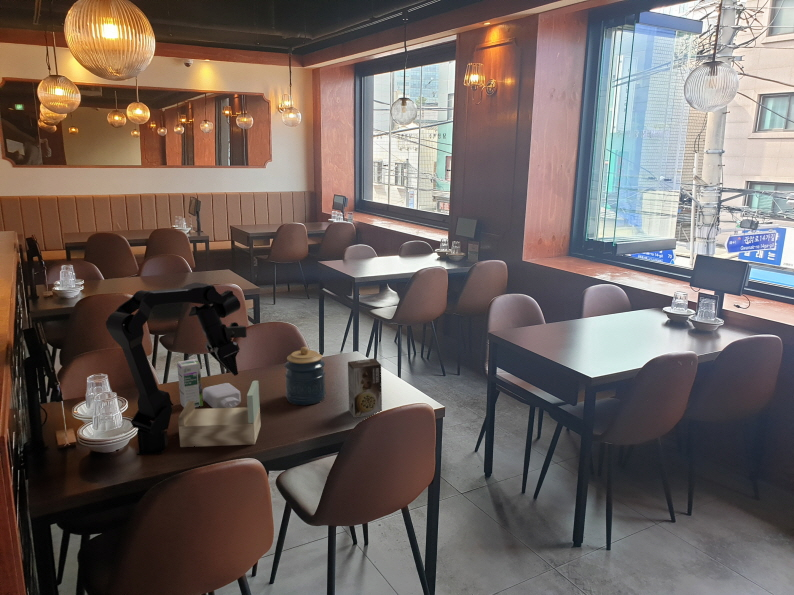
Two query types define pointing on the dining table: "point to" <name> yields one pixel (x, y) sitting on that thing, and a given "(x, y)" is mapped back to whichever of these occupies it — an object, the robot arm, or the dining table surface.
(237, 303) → the robot arm
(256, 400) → the pale green flat block
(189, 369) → the syrup box
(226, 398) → the charger
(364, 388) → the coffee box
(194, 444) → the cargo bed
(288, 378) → the canister
